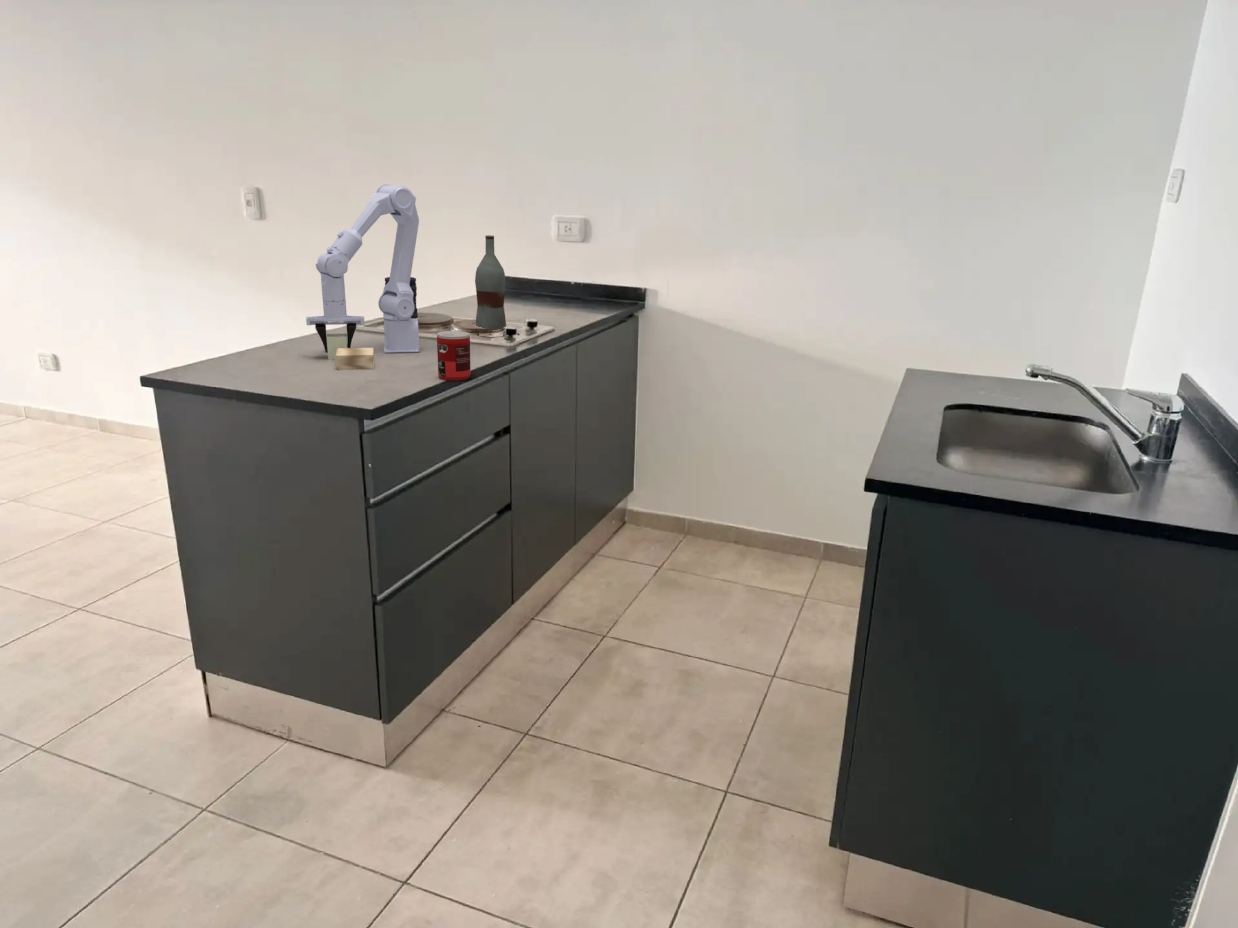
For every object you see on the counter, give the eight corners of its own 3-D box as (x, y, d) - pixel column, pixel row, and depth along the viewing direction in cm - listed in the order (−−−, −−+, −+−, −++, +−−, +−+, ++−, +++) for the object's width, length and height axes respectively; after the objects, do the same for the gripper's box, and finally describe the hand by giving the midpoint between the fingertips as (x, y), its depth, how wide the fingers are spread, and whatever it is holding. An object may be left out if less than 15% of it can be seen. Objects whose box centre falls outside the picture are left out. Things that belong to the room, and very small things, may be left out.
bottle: (486, 339, 258) (484, 237, 248) (470, 334, 264) (468, 235, 254) (511, 336, 264) (511, 236, 254) (495, 331, 270) (494, 234, 260)
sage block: (348, 355, 229) (346, 333, 227) (348, 359, 225) (346, 337, 223) (328, 355, 228) (327, 333, 226) (328, 359, 223) (326, 337, 221)
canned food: (440, 373, 214) (438, 330, 210) (471, 374, 215) (471, 331, 211) (436, 380, 207) (434, 336, 203) (469, 381, 207) (468, 337, 204)
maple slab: (374, 362, 224) (373, 347, 223) (373, 370, 216) (372, 355, 214) (338, 363, 222) (337, 348, 220) (336, 371, 213) (335, 355, 212)
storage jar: (413, 328, 269) (411, 281, 264) (383, 327, 269) (380, 279, 264) (421, 323, 278) (419, 277, 273) (391, 322, 278) (389, 276, 273)
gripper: (362, 298, 227) (366, 348, 231) (305, 298, 223) (309, 349, 227) (363, 302, 220) (366, 353, 225) (304, 302, 216) (308, 354, 221)
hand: (337, 351), depth 226 cm, fingers closed on sage block, 5 cm apart
